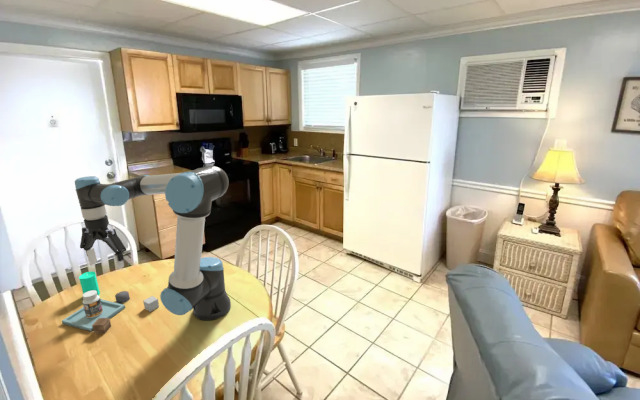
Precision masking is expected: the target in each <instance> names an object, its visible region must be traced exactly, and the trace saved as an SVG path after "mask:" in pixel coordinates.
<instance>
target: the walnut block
mask: <svg viewBox="0 0 640 400" xmlns="http://www.w3.org/2000/svg"><path fill="white" fill-rule="evenodd" d="M92 327H93V331H92V332H93V334H94V335H101V334H102V335H103V334H104V335H105V334H106V333H107V332H108V331H109V330H110V329H111V327H112V324H111V320H110V319H109V318H98V319H97V320H96V322H95V323H94V324H93V325H92Z"/></svg>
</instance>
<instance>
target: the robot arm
mask: <svg viewBox="0 0 640 400" xmlns="http://www.w3.org/2000/svg"><path fill="white" fill-rule="evenodd" d="M229 183H230V182H229V177H228V174H227V173H226V172H225V170H223V169H222V168H220V167H218V166H215V165H207V166H206V165H205V166H203V167H198V168H196V169H194V170H193V169H192V170H190V171H184V172H176V173H165V174H156V175H155V174H154V175H149V174H144V175H138V176H136V177H132V178H127V179H125V180H124V179H123V180H121V181H116V182H112V183H101V181H100V179H99V177H97V176H95V175H94V176H89V175H88V176H83V177H79V178H76V179H75V180H74V185H75V192H76V196H77V199H78V203H79V206H80V210H81V211H80V212H81V215H82V218H83V223H84V227H82V228H81V238H80V239H81V240H80V242H79V243H80V245H79V248H80V250H81V249H83V250H84V251H85V253H86V256H87V258H88V263H89V266H90V267H91V266H94V265H95V264H97V263H98V259H97V255H96V252H95V247H94V244H95V243H96V241H98V240H99V241H102V242H103V243H105V244H106V245H107V246H108V247H109V248H110V249H111V250H112V251H113V253H114V254H113V256H114V262H115V265H116V269H117V270H121V269H122V268H124V267H125V263H124V255H123V254H124V253H125V252H126V251H127V248H126V247H125V244H124V243H123V242H122V240H121V238H120V237H119V236H118V233H117V231H116V229H115V228H112V229H109V228H108V225H110V223H109V222H110V221H109V218H108V217H109V216H108V215H107V208H106V206H110V207H120V206H123V205H125V204H126V203H127V202H128V201H129V200H131V199H135V198H137V197H141V196H142V197H143V196H151V195H164V196H165V200H166V202H168V203H167V205H168V206H169V207H170V209H171V210H172V213H174V215H176V216H177V219H176V229H175V231H176V232H175V246H174V247H175V249H174V262H173V263H174V265H173V271H172V272H171V273H170V274H169V275H168V283H167V287H165V288H164V289H163V290H162V291H161V292H160V295H159V296H160V297H159V298H160V302H161V304H162V305H163V306H164V307H165V309H166V310H168V311H169V312H170V313H171V314H173V315H176V316H184V315H186V314H187V313H189V312H191V311H192V310H193V311H192V312H193V315H194V317H195V318H196V319H198V320H201V321H213V320H218V319H221V318H222V317H224V316H225V315H226V314H228V313H229V311H230V310H231V307H232V306H231V305H232V304H231V299H230V297H229V296H228V293H227V291H226V283H225V274H224V269H225V268H224V264H223V261H222V260H221V259H220V258H218V257H213V256H206V257H202V252H203V243H204V242H203V241H204V234H205V233H204V231H205V222H206V217H208V216H210V214H211V211H212V204H213V203H212V202H213V201H215V200H218V198H221V197H223V196H224V195H225V194H226V193H227V192H228V191H227V190H228V188H229V185H230V184H229Z"/></svg>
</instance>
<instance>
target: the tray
mask: <svg viewBox="0 0 640 400" xmlns="http://www.w3.org/2000/svg"><path fill="white" fill-rule="evenodd" d="M100 300H101V304H102V309H103V312H102V314H101V315H99V316H98V317H95V318H87V317H86V314H85V311H84V307H83V306H82V308H80V309H78V310H76V311H75V312H73V313H72V314H69V316H67V317H65V318H63V319H62V320H61V322H62V323H61V324H63V325H65V326H69V327H73V328H76V329H81V330H83V331H88V332H94V331H93V327H92V325H93V324H94V323H95V322H96V320H97V319H98V318H109V319H112V318H114V316H116V315H118V314H119V313H120V312H121V311H122V312H123V310H125V309H126V305H125V304H124V303H121V304H119V303H117V302H116V301H109V300H106V299H101V298H100Z"/></svg>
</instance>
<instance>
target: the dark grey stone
mask: <svg viewBox="0 0 640 400" xmlns="http://www.w3.org/2000/svg"><path fill="white" fill-rule="evenodd" d="M129 293H130V292H129V291H127V290H123V291H119V292H118V293H116V294H115V296H114V297H115V303H119V304H125V303H127V302H128V301H130V299H131V298H130V294H129Z"/></svg>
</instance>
